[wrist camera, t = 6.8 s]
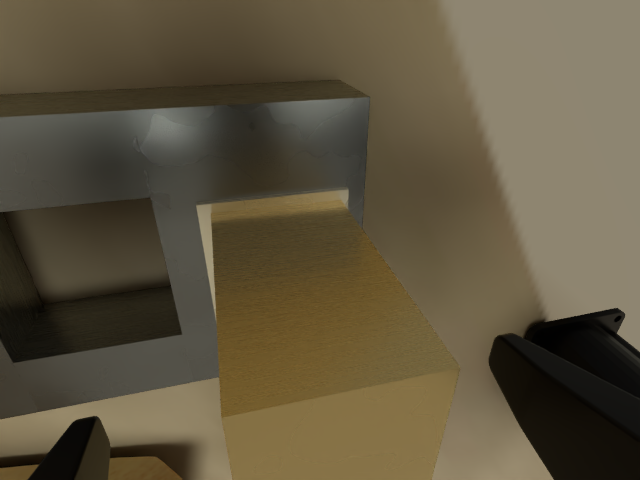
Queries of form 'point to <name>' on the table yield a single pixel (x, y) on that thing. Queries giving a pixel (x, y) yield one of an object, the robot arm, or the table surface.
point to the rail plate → (170, 213)
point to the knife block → (110, 470)
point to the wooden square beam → (322, 352)
